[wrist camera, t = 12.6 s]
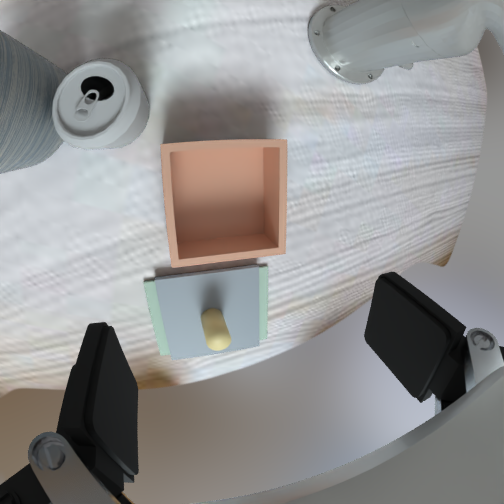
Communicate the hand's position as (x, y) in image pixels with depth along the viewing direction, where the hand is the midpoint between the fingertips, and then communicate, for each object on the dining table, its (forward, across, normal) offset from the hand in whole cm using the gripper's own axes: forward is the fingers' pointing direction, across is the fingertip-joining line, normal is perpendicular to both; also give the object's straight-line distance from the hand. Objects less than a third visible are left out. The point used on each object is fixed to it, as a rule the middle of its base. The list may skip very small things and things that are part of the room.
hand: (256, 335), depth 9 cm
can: (+25, +8, -10) cm, 28 cm away
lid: (+24, 0, +16) cm, 29 cm away
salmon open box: (+25, -2, 0) cm, 25 cm away
